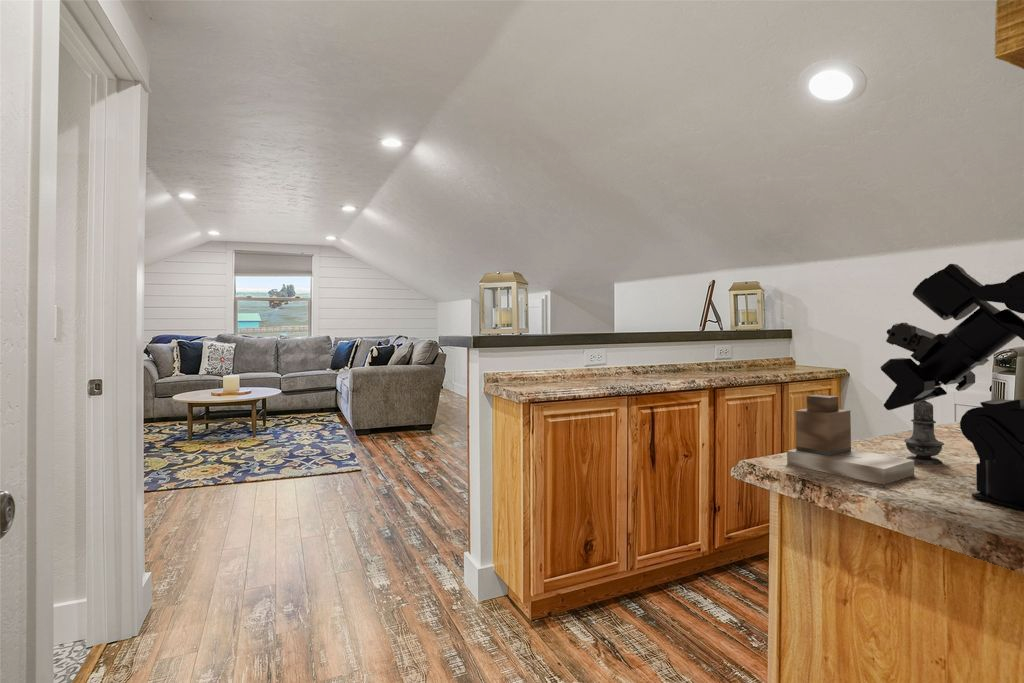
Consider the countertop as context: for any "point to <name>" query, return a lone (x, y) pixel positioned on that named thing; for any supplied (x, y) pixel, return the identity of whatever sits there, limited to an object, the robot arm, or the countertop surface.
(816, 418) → the brown square jar
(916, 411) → the salt shaker
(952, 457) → the countertop surface
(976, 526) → the countertop surface
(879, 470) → the board
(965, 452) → the countertop surface
